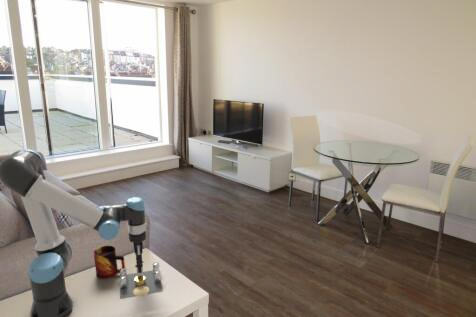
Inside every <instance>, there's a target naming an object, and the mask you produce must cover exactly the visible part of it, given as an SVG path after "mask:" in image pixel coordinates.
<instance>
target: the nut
mask: <svg viewBox="0 0 476 317" xmlns="http://www.w3.org/2000/svg"><path fill="white" fill-rule="evenodd" d="M145 282H146V277H144V276H143V275H141V276H136V278H135V279H134V283H135V285H137V286H142V285H144V284H145Z"/></svg>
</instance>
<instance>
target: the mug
mask: <svg viewBox="0 0 476 317" xmlns="http://www.w3.org/2000/svg"><path fill="white" fill-rule="evenodd" d="M116 253H117V251H116V247H115V246H113V245H104V246H100V247H98V248H96V249H95V250H94V251H93V258H94V259H93V260H94V267H95V274H96V277H97V278H98V279H103V280H104V279H105V280H106V279H110V278H112V277H115V276H116V275H117V274H120V268H118V262H117V261H121V262H120V263H121V268H122V267H125V268H126V265H125V263H126V262H125V256H122V255H117V254H116Z"/></svg>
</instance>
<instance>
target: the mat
mask: <svg viewBox="0 0 476 317" xmlns="http://www.w3.org/2000/svg"><path fill="white" fill-rule="evenodd" d="M136 276H137V272H135V273H129V274H128V273H127V288H126V289H120V288H119V300H120V299H121V300H122V299H129V298H134V297H142V296H146V295H150V294H157V293H161V292H163V291H164V290H163V285H162V281H161V282H160V283H154V274H153V269H152V270H147V271H143V276H144V277H146V282H145V284H144V285H142V286H137V285H135V283H134V279H135V278H136Z"/></svg>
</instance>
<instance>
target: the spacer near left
mask: <svg viewBox="0 0 476 317" xmlns="http://www.w3.org/2000/svg"><path fill="white" fill-rule="evenodd" d="M118 279H119V290H120V289H126V288H127V278H126V276H121V277H120V276H119V278H118Z"/></svg>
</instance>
